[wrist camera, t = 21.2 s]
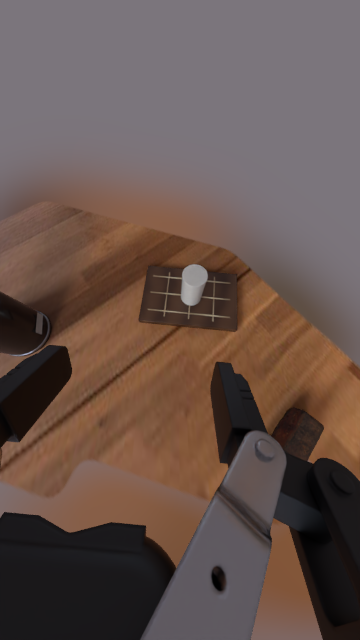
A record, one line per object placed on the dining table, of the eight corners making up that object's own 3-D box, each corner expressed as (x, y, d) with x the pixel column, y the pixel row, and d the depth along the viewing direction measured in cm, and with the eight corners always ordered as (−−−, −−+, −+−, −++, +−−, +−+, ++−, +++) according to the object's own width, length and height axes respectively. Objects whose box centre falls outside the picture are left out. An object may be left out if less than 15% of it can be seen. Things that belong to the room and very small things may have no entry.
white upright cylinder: (179, 304, 38) (181, 285, 30) (181, 286, 39) (183, 263, 32) (200, 306, 38) (207, 287, 30) (201, 288, 39) (208, 265, 32)
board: (139, 322, 38) (138, 319, 36) (149, 269, 42) (148, 265, 41) (235, 331, 38) (237, 329, 36) (234, 277, 42) (237, 273, 41)
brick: (287, 405, 34) (304, 409, 29) (306, 421, 33) (326, 427, 28) (256, 457, 31) (269, 470, 26) (276, 476, 30) (293, 492, 26)
